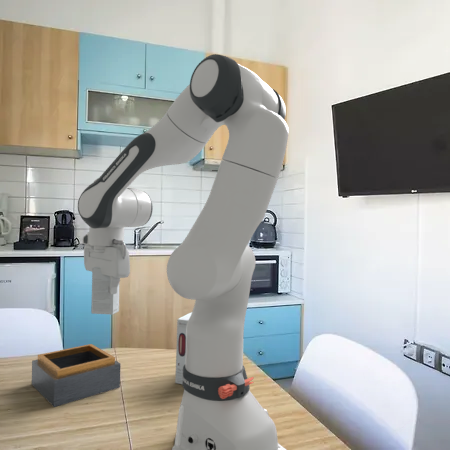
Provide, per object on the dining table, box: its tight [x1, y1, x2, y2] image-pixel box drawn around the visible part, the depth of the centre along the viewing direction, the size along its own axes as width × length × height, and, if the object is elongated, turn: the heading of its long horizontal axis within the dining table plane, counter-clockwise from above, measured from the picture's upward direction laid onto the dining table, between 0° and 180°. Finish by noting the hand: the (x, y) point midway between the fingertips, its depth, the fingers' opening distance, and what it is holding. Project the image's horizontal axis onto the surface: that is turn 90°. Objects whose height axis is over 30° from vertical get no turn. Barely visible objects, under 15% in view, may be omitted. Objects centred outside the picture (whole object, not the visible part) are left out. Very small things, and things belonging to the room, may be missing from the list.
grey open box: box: [31, 343, 121, 408], centre depth 97 cm, size 19×16×8 cm
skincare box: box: [90, 267, 120, 315], centre depth 100 cm, size 6×4×12 cm
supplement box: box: [174, 312, 192, 385], centre depth 101 cm, size 10×9×17 cm
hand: (105, 291), depth 100 cm, fingers closed on skincare box, 7 cm apart
